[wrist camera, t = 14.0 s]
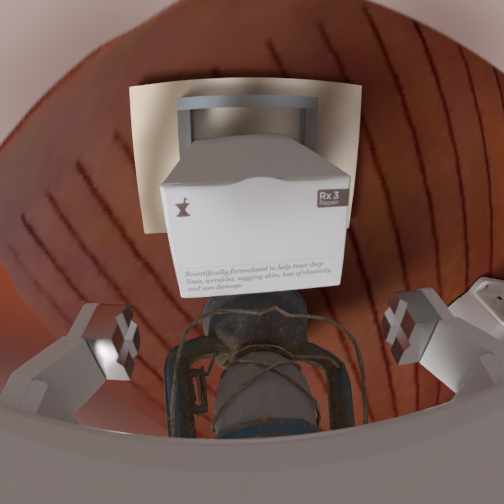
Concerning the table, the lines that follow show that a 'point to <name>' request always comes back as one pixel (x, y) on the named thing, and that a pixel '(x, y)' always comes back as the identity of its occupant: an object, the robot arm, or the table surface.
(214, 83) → the board
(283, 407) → the lantern
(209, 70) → the table surface
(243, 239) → the skincare box
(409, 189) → the table surface
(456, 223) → the table surface
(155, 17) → the table surface
